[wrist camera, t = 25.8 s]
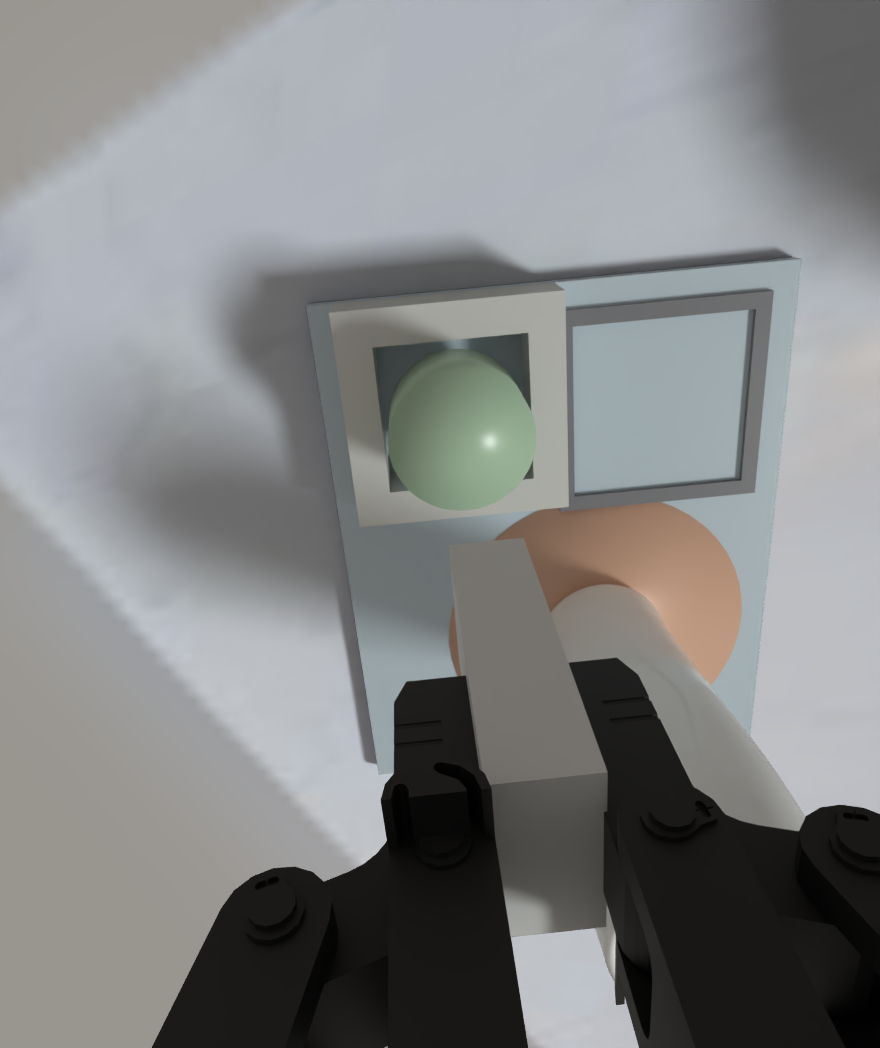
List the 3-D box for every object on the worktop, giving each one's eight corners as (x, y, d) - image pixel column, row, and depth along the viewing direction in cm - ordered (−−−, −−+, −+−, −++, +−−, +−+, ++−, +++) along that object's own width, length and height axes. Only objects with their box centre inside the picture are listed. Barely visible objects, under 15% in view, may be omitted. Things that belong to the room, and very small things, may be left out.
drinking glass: (499, 672, 34) (563, 1001, 21) (556, 545, 32) (670, 826, 18) (635, 706, 36) (778, 1039, 22) (700, 586, 33) (908, 879, 19)
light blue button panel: (793, 257, 28) (804, 259, 27) (744, 728, 37) (751, 739, 37) (307, 303, 28) (305, 307, 27) (378, 765, 37) (378, 777, 36)
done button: (520, 342, 26) (533, 361, 24) (525, 471, 28) (538, 503, 26) (382, 355, 26) (379, 376, 24) (396, 484, 28) (396, 517, 26)
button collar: (554, 282, 27) (565, 290, 26) (558, 487, 31) (568, 506, 29) (333, 303, 27) (328, 312, 26) (362, 506, 31) (359, 527, 29)
